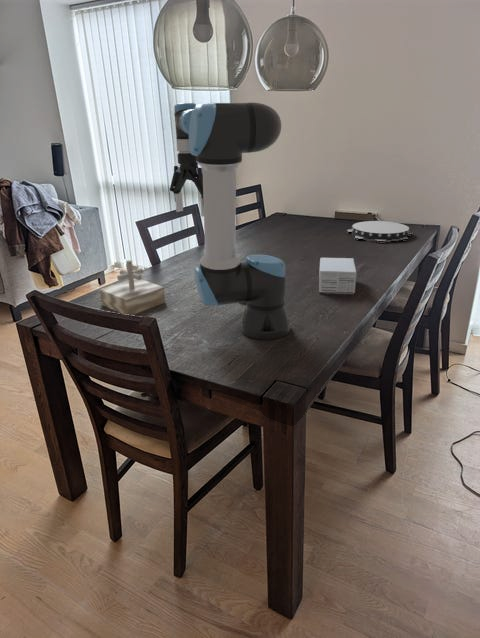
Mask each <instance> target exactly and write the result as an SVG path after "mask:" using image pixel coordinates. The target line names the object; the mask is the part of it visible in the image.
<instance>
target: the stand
mask: <svg viewBox="0 0 480 638" xmlns="http://www.w3.org/2000/svg"><path fill="white" fill-rule="evenodd" d="M134 286H135V288H134V289H130V288H129V280H125V281H121V282H119V283H115V284H112V285H109V286H105V287H102V288H100V289H99V293H100V301H101V305H102V306H103V307H106V308H108V309H110V310H113V311H115V312H116V313H120V314H121V315H124V314H129V315H131V316H133V315H136V314H138V313H141V312H144V311H146V310H149V309H152V308H155V307H158V306H160V305H163V304H165V303H166V297H165V287H164V286H162V285H159V284H155V283H153V282H150V281H147V280H144V279H143V278H141V280H137V279H134Z"/></svg>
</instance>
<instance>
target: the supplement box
mask: <svg viewBox="0 0 480 638" xmlns="http://www.w3.org/2000/svg"><path fill="white" fill-rule="evenodd" d="M356 269H357V268H356V265H355V259H354V258H353V257H351V258H350V257H348V258H346V257H320V259H319V270H318V271H319V272H318V273H319V274H318V275H319V276H318V281H319V283H318V284H319V286H318V292H353V293H356V283H357V282H356V281H357V270H356Z"/></svg>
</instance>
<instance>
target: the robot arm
mask: <svg viewBox="0 0 480 638" xmlns="http://www.w3.org/2000/svg"><path fill="white" fill-rule="evenodd" d="M173 109H174V110H173V111H174V113H173V116H174V124H175V135H176V137H175V139H176V141H175V142H176V151H177V152H178V153H177V164H178V165H174V166H173V174H172V178H171V183H170V185H169V186H170V187H169V191H170V192H173V195H174V202H175V211H176V213H179V212H183V211H184V204H183V202H184V201H183V192H182V189H183V187H184V186H185V184H186V181H188V180H189V181H191V182H193V185H194V186H195V187H196V189H197V190H198V192H199V194H200V199H199V201H200V215H201V217H203V226H204V227H203V228H204V233H203V234H204V255H203V256H202V257H201V258H200V260H199V266H197V267H194V279H195V282H196V283H195V284H196V288H197V292H198V295H199V298H200V300H201V303H202V304H203V305H204V306H205V307H206V306H207V307H212V306H217V307H219V306H224V305H232V304H240V302H247V303H246V307H245V309H244V310H245V311H244V314H243V317H242V320H241V325H240V327H241V329H240V330H241V332H242V333H243V335H245V336H246V337H248V338H252V339H256V340H262V341H263V340H264V341H265V340H268V341H269V340H275V339H280V338H283V337H285V336H287V335H288V334H289V333H290V331H291V330H290V329H291V328H290V327H291V323H290V322H291V321H290V320H289V318H288V313H287V310H286V306H285V303H286V301H285V300H286V299H285V297H286V277H287V274H286V264H285V262H284V260H282V259H280V258H278V257H277V256H272V255H268V254H259V253H258V254H250V255H247V256H246V257H245V259H244V262H242V261H241V258H240V257H239V256H238V255H237V254H236V252H237V251H236V235H237V233H236V229H237V228H236V219H237V218H236V216H237V215H236V212H237V210H236V206H237V203H236V200H237V198H236V197H237V193H236V192H237V190H236V189H237V183H236V182H237V179H236V178H237V176H236V175H237V173H236V172H237V168H238V167H239V165H241V163H242V161H243V154H248V153H249V154H250V153H258V152H261V151H264V150H266V149H269V148H270V147H271V146H273V145H274V144H275V143H276V142H277V140H278V139H279V137H280V135H281V131H282V120H281V117H280V115H279V114H278V113H277V111H276V110H275V109H274V108H272V107H271V106H269V105H267V104H264V103H260V102H210V103H209V102H208V103H200V104H196V103H194V102H180V103H177V102H176V103H175V104H174V107H173ZM199 166H200V167H199Z"/></svg>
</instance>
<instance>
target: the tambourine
mask: <svg viewBox="0 0 480 638" xmlns="http://www.w3.org/2000/svg"><path fill="white" fill-rule="evenodd" d="M347 231H348V232H352V233H351V235H352V234H353V235H355V238H358V239H363V238H367V239H375V240H377V241H386V240H392V239H408V240H409V235H408V234H412V235H413V232H412V233H409V232H410V227H409V226H407V225H405V224H402V223H399V222H394V221H385V220H382V221H381V220H369V221H367V220H366V221H359V222H356V223H353V224H352V226H351V229H349V228H348V229H347V230H346V232H347ZM348 232H347V233H348ZM407 236H408V237H407ZM355 238H354V239H355ZM358 239H357V240H358Z"/></svg>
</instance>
